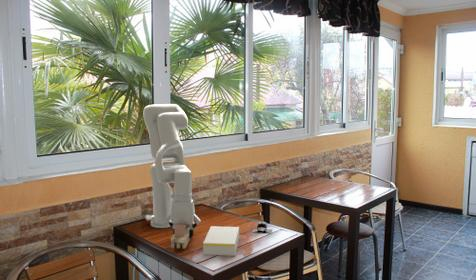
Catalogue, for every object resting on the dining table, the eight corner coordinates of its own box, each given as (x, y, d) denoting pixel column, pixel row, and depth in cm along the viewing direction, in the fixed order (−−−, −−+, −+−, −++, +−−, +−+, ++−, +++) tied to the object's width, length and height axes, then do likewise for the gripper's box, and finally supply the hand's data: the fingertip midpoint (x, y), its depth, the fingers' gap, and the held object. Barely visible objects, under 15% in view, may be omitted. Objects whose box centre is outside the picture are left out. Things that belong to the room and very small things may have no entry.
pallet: (170, 248, 166) (170, 238, 166) (181, 229, 186) (181, 221, 185) (185, 248, 166) (185, 239, 165) (194, 230, 185) (194, 222, 185)
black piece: (248, 233, 188) (248, 224, 188) (250, 228, 195) (250, 219, 195) (274, 235, 186) (274, 226, 185) (275, 230, 193) (276, 221, 192)
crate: (174, 236, 168) (174, 227, 167) (176, 233, 172) (176, 224, 171) (183, 237, 168) (183, 228, 167) (186, 233, 171) (185, 224, 171)
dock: (203, 254, 163) (203, 243, 162) (211, 236, 183) (210, 226, 183) (234, 255, 162) (234, 244, 161) (239, 237, 182) (239, 227, 181)
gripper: (160, 199, 170) (161, 239, 173) (201, 200, 168) (201, 241, 171) (165, 194, 177) (166, 232, 180) (204, 195, 176) (204, 234, 179)
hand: (183, 236), depth 176 cm, fingers closed on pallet, 6 cm apart
